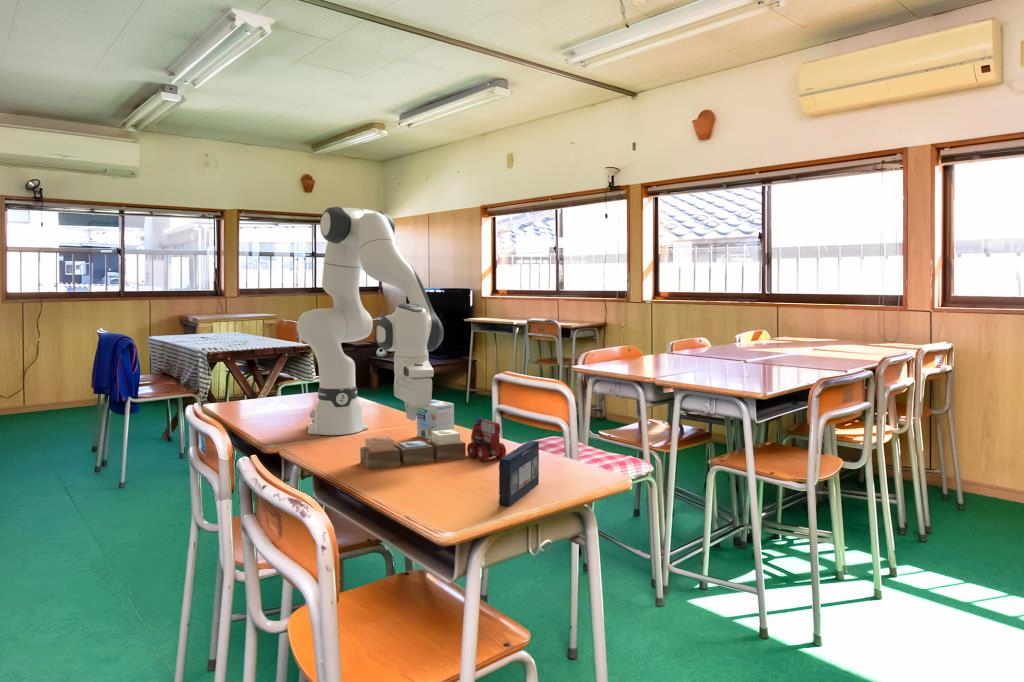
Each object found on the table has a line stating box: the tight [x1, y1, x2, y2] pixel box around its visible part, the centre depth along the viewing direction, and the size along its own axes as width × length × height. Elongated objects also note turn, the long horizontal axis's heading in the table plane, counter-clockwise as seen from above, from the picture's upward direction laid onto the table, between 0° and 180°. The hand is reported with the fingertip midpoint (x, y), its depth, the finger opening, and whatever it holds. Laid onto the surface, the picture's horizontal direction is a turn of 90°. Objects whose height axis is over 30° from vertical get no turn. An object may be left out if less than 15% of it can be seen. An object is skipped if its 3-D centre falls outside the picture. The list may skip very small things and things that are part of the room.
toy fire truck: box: [466, 417, 507, 463], centre depth 181 cm, size 7×12×10 cm, turn 34°
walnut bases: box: [359, 439, 467, 471], centre depth 178 cm, size 8×26×4 cm, turn 117°
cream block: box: [432, 429, 461, 445], centre depth 182 cm, size 6×6×4 cm
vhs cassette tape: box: [498, 440, 540, 508], centre depth 148 cm, size 18×3×10 cm, turn 157°
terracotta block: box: [364, 435, 395, 453], centre depth 174 cm, size 6×6×4 cm
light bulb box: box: [416, 399, 455, 440], centre depth 206 cm, size 11×7×11 cm, turn 42°
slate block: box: [398, 440, 428, 449], centre depth 178 cm, size 6×6×4 cm
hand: (411, 419), depth 178 cm, fingers closed
